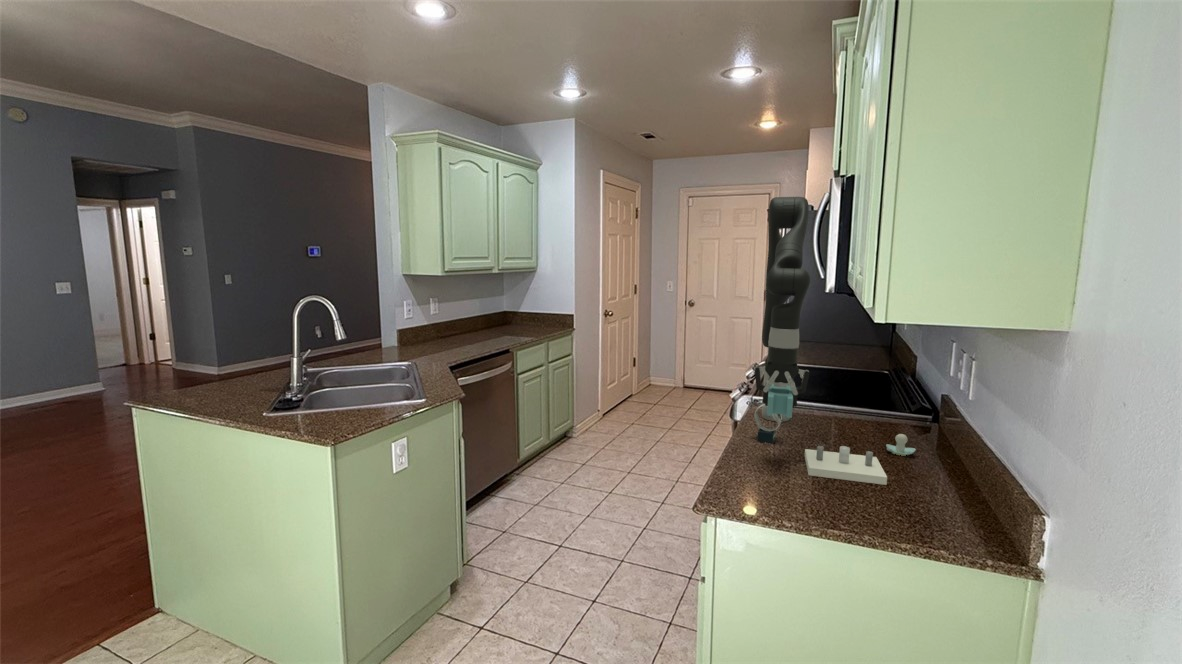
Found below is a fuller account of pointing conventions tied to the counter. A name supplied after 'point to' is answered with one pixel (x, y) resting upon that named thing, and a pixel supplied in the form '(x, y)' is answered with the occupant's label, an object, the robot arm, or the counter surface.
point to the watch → (767, 428)
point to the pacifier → (900, 446)
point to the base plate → (845, 465)
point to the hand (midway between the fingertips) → (779, 406)
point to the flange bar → (780, 401)
